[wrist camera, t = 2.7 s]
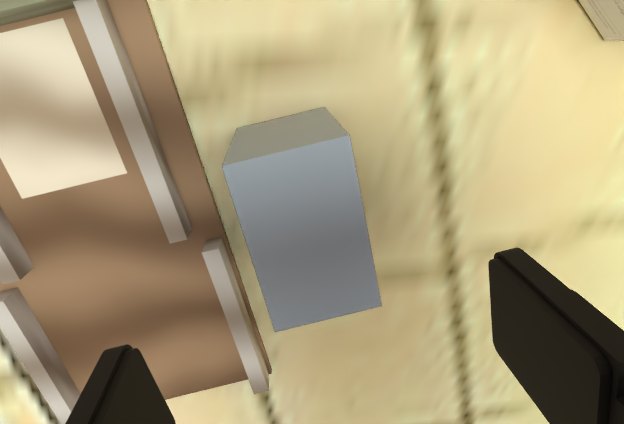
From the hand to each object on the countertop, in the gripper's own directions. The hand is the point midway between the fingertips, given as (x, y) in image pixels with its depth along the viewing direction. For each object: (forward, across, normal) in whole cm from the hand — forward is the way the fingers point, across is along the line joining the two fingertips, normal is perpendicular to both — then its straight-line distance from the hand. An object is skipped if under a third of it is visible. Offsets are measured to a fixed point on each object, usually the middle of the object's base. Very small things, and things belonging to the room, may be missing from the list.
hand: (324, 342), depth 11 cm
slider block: (+15, 0, +1) cm, 15 cm away
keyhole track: (+15, +12, +1) cm, 19 cm away
